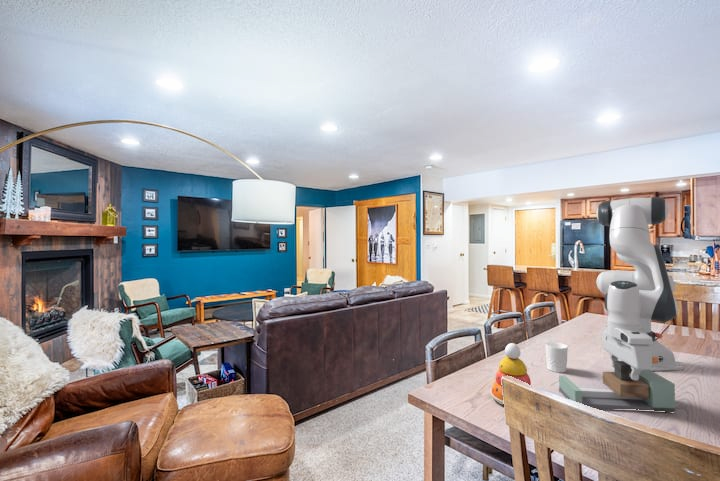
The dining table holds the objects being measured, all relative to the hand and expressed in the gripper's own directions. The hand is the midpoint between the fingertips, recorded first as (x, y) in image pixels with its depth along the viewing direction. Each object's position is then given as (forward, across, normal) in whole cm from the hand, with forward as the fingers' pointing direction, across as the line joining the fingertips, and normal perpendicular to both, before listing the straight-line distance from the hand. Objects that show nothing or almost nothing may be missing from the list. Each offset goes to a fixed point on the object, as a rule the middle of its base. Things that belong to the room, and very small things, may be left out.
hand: (624, 373), depth 110 cm
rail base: (+9, 0, -4) cm, 10 cm away
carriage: (+6, 0, 0) cm, 6 cm away
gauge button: (-2, 0, +7) cm, 8 cm away
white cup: (+10, -26, -11) cm, 30 cm away
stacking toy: (+10, +3, -36) cm, 37 cm away
